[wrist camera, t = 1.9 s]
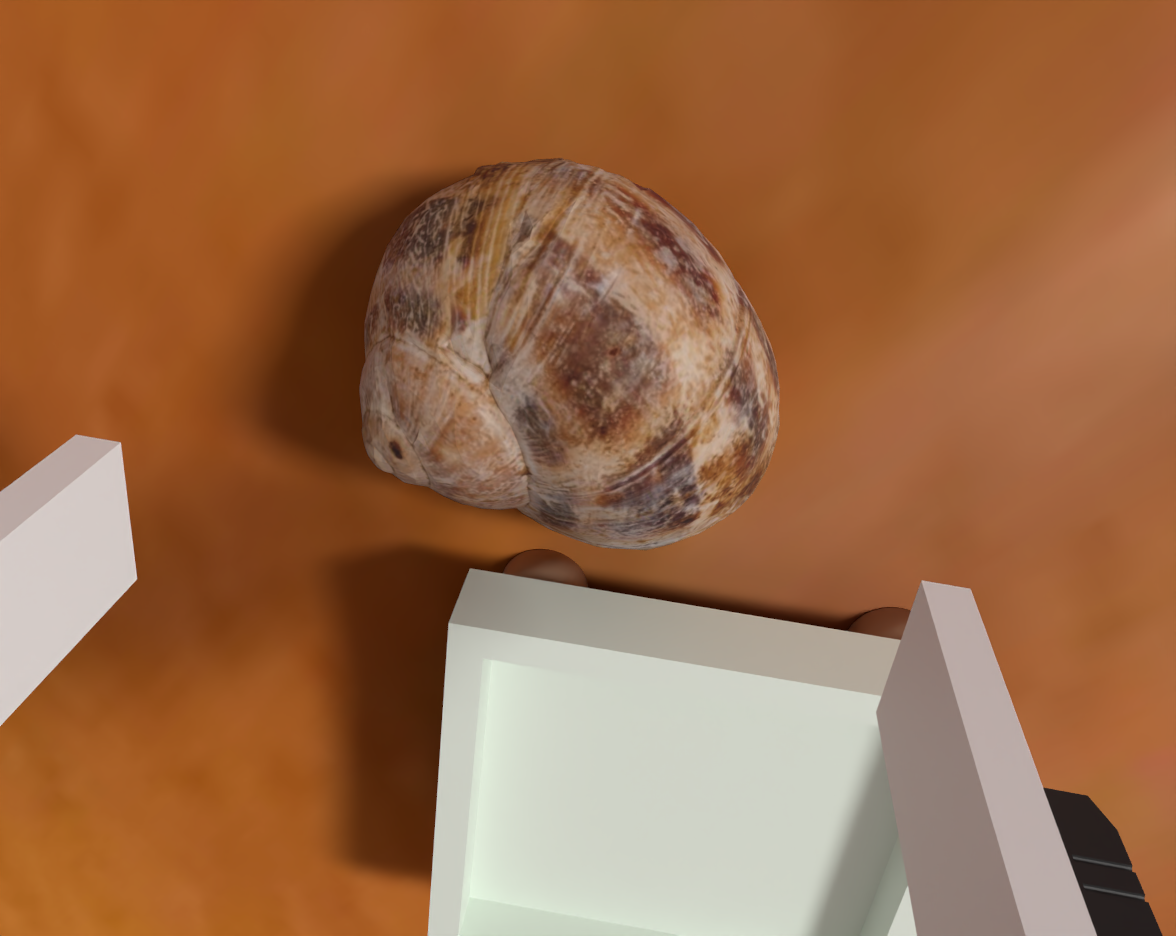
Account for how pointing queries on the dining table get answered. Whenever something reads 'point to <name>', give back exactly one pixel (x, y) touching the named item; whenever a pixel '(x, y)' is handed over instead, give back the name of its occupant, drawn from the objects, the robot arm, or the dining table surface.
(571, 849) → the shallow white square tray
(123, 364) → the dining table surface
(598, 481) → the seashell
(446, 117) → the dining table surface
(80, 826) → the dining table surface
